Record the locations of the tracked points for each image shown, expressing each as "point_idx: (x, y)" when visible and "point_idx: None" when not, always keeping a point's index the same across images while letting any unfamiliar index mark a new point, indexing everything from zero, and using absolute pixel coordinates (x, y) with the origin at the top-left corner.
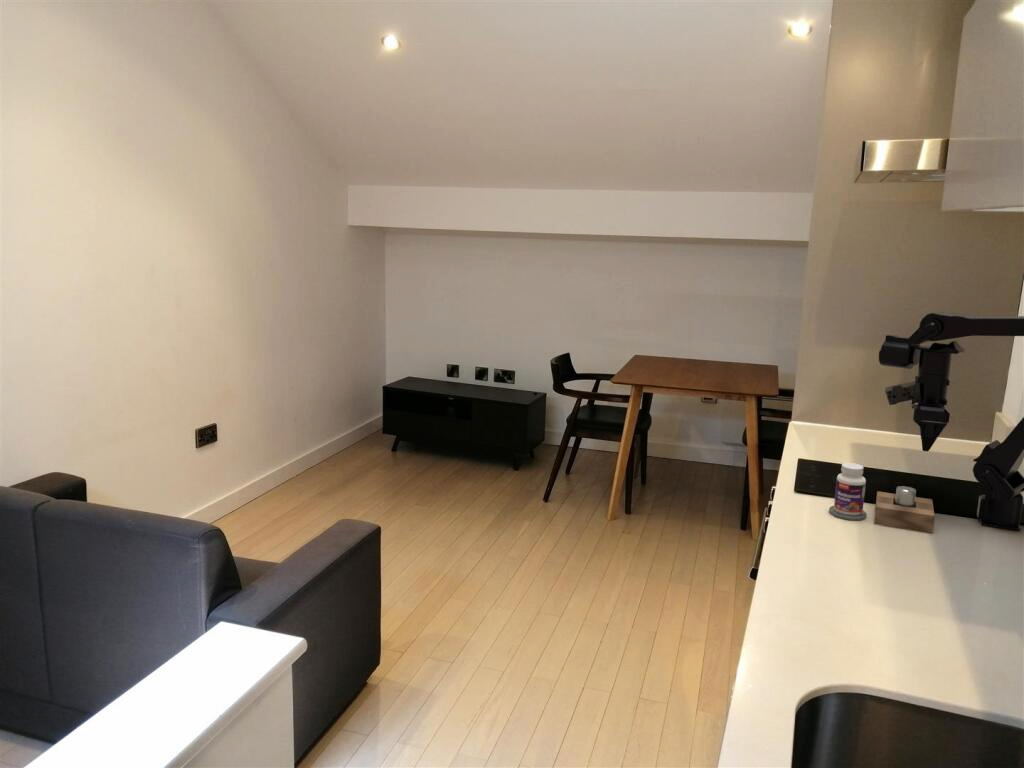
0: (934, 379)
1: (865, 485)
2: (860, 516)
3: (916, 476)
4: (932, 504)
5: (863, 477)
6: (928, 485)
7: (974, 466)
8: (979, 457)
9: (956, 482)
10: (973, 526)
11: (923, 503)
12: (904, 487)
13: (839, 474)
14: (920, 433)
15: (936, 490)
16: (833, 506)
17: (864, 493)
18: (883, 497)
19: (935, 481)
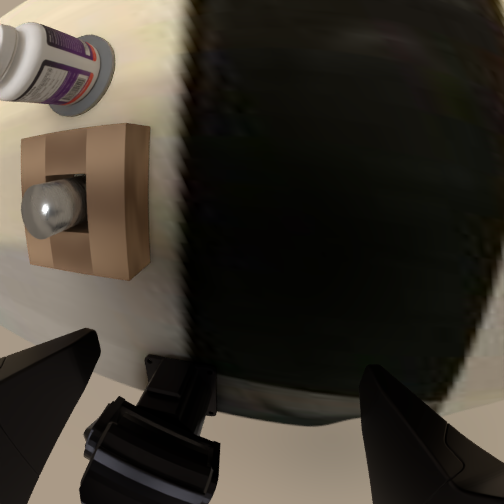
0: None
1: (13, 101)
2: (56, 106)
3: (483, 270)
4: (90, 273)
5: (3, 90)
6: (422, 292)
7: (103, 434)
8: (92, 463)
9: (450, 351)
10: (134, 337)
11: (85, 252)
12: (46, 207)
13: (16, 27)
14: (378, 386)
15: (384, 307)
16: (96, 39)
17: (31, 102)
18: (81, 146)
19: (454, 310)
